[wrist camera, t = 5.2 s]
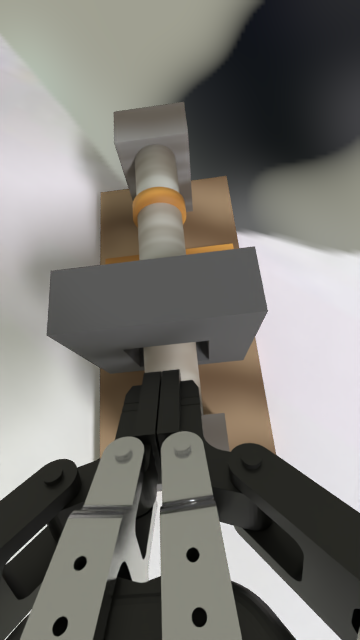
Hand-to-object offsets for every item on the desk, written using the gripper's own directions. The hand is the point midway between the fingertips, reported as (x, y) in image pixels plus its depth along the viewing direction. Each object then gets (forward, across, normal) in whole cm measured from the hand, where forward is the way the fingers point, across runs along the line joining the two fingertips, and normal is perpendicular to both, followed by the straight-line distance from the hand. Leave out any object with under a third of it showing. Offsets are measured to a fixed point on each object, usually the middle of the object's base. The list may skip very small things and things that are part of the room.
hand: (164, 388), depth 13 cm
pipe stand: (+13, 0, +2) cm, 13 cm away
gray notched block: (+8, 0, +2) cm, 8 cm away
